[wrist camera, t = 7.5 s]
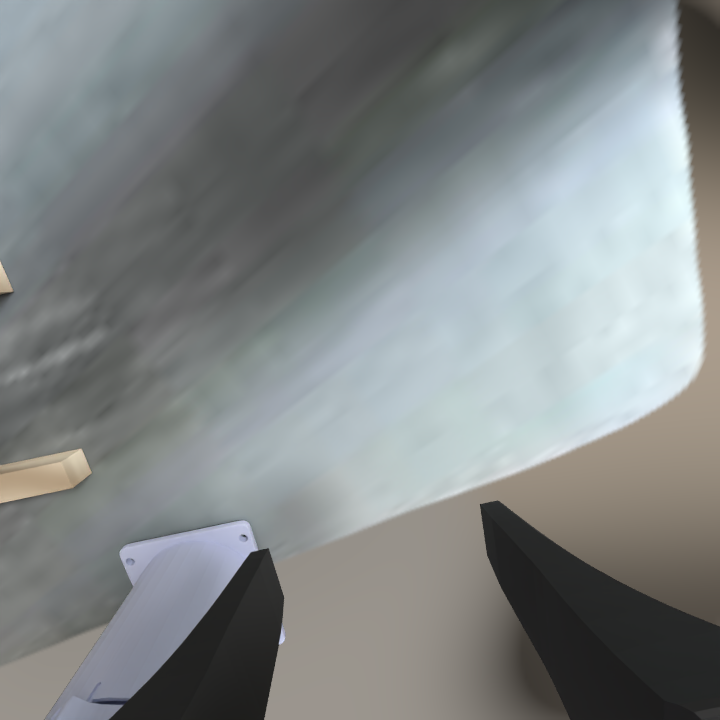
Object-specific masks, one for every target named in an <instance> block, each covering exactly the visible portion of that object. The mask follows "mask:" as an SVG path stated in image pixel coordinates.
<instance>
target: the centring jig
mask: <svg viewBox="0 0 720 720" xmlns="http://www.w3.org/2000/svg"><path fill="white" fill-rule="evenodd" d="M9 292H13V289H12V287H11V285H10V282H9V280H8V278H7V276H6V273H5V271H4V269H3V266H2V264H1V262H0V294H4V293H9ZM91 473H92V472H91V470H90V467H89V465H88V463H87V460H86V458H85V456H84V453H83V451H82V449H76V450H71V451H67V452H62V453H57V454H52V455H48V456H43V457H38V458H33V459H29V460H24V461H19V462H14V463H9V464H5V465H0V503H3V502H8V501H13V500H18V499H22V498H27V497H32V496H37V495H42V494H46V493H51V492H56V491H61V490H65V489H70V488H74V487H75V486H76V485H77V484H79V483H80V482H81V481H82V480H84V479H85V478H86V477H87V476H89V475H90V474H91Z"/></svg>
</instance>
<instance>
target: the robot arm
mask: <svg viewBox="0 0 720 720" xmlns="http://www.w3.org/2000/svg"><path fill="white" fill-rule="evenodd" d="M480 507H481V515H482V522H483V529H484V535H485V543H486V550H487V556H488V558H489V560H490V563H491V565H492V567H493V570H494V572H495V575H496V577H497V579H498V582H499V584H500V586H501V588H502V590H503V592H504V594H505V595H506V597H507V599H508V601H509V603H510V604H511V606H512V608H513V610H514V612H515V613H516V615H517V617H518V619H519V621H520V622H521V624H522V626H523V628H524V629H525V631H526V633H527V634H528V636H529V638H530V640H531V642H532V643H533V645H534V647H535V649H536V651H537V652H538V654H539V656H540V658H541V660H542V662H543V663H544V665H545V667H546V669H547V671H548V673H549V675H550V677H551V679H552V681H553V683H554V685H555V687H556V690H557V692H558V694H559V696H560V698H561V700H562V702H563V705H564V707H565V709H566V711H567V713H568V715H569V718H570V720H720V627H719V626H717V625H714V624H712V623H709V622H707V621H704V620H702V619H699V618H697V617H694V616H692V615H689V614H687V613H685V612H682V611H680V610H678V609H675V608H673V607H671V606H668V605H666V604H664V603H662V602H660V601H658V600H656V599H653V598H651V597H649V596H647V595H645V594H643V593H641V592H639V591H636V590H635V589H632V588H631V587H629V586H627V585H625V584H623V583H621V582H619V581H617V580H615V579H613V578H612V577H610V576H608V575H606V574H604V573H603V572H600V571H599V570H597V569H595V568H594V567H591V566H590V565H588V564H587V563H585V562H583V561H582V560H580V559H579V558H577V557H575V556H574V555H572V554H571V553H569V552H568V551H566V550H565V549H563V548H562V547H560V546H559V545H557V544H556V543H554V542H553V541H552V540H550V539H549V538H547V537H546V536H545V535H543V534H542V533H540V532H539V531H538V530H536V529H535V528H533V527H532V526H531V525H529V524H528V523H527V522H525V521H524V520H523V519H522V518H520V517H519V516H518V515H516V514H515V513H514V512H512V511H511V510H510V509H508V508H507V507H506V506H505V505H504V504H502V503H501V502H499V501H494V502H489V503H484V504H480ZM241 535H246V536H247V537H242V536H241ZM119 556H120V558H121V560H122V563H123V565H124V567H125V570H126V572H127V574H128V576H129V579H130V581H131V583H132V585H133V588H132V590H131V591H130V593H129V594H128V596H127V597H126V599H125V600H124V602H123V603H122V605H121V606H120V608H119V609H118V610H117V612H116V613H115V615H114V616H113V618H112V619H111V621H110V622H109V624H108V625H107V627H106V628H105V630H104V631H103V633H102V634H101V636H100V637H99V639H98V640H97V642H96V643H95V645H94V646H93V648H92V649H91V651H90V652H89V654H88V655H87V657H86V658H85V660H84V661H83V663H82V664H81V666H80V667H79V669H78V670H77V672H76V673H75V675H74V676H73V678H72V679H71V681H70V682H69V684H68V685H67V687H66V688H65V690H64V691H63V693H62V694H61V696H60V697H59V699H58V700H57V701H56V703H55V704H54V706H53V707H52V709H51V710H50V712H49V713H48V715H47V716H46V718H45V719H44V720H264V717H265V712H266V707H267V702H268V697H269V692H270V687H271V682H272V677H273V671H274V667H275V662H276V657H277V651H278V646H279V644H281V643H283V642H284V640H285V630H284V627H283V624H282V618H283V604H284V595H283V592H282V590H281V586H280V583H279V580H278V577H277V574H276V570H275V567H274V564H273V561H272V558H271V554H270V551H269V548H268V549H263V550H258V547H257V544H256V541H255V538H254V535H253V532H252V529H251V526H250V524H249V523H248V522H247V521H244V520H240V521H235V522H231V523H226V524H221V525H216V526H212V527H207V528H202V529H197V530H192V531H188V532H183V533H178V534H173V535H168V536H164V537H159V538H154V539H149V540H144V541H140V542H135V543H130V544H126V545H125V546H124V547H123V548H122V549H121V550H120V552H119ZM130 558H131V559H133V560H131V559H130Z"/></svg>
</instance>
